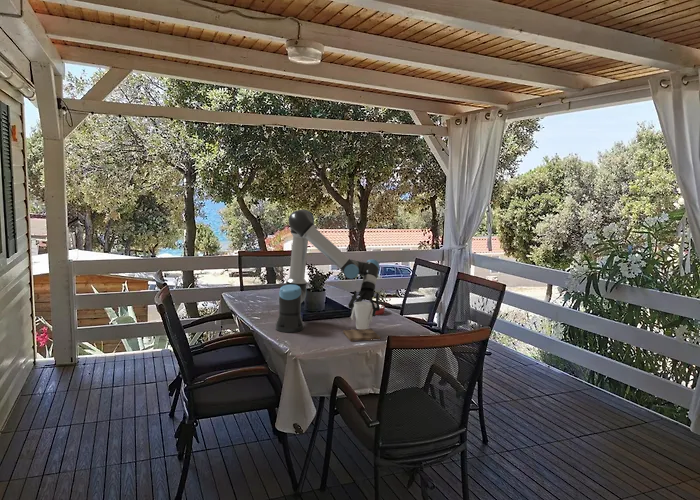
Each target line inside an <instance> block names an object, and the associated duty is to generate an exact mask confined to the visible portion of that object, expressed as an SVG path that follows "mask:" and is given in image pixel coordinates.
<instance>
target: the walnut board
mask: <svg viewBox="0 0 700 500" xmlns="http://www.w3.org/2000/svg"><path fill="white" fill-rule="evenodd" d="M342 334H343V335H344V336H345V337H346V338H347V339H348V340H349V341H350V342H354V341H353V340H368V341H374V340H373V339H380V340H381V336H380V335H379V334H378V333H377V332H376V331H374V330H373V329H372V328H368V329H343V331H342ZM371 339H372V340H371Z"/></svg>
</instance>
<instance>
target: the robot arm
mask: <svg viewBox="0 0 700 500" xmlns="http://www.w3.org/2000/svg"><path fill="white" fill-rule="evenodd" d="M314 223H315V217H314V215H313V214H312V213H311V212H310V211H309V210H307V209H299V210H294V211H293V212H292V213H290V215H289V216H288V225H289V227H290V234H291V235H292V245H291V246H292V247H291V256H290V257H291V258H290V266H289V275H288V276H289V277H288V278H287V279H286V282H285V284H284V285H282V286H281V287H280V288H279V292H278V297H279V298H278V299H279V300H278V304H279V305H278V317H277V320H276V323H275V331H278V332H283V333H298V332H301V331H303V330H304V322H303V319H302V316H301V311H302V310H301V308H302V307H301V305H302V303H303V302H304V301H305V300H306V298H307V296H308V290H307V289H308V288H307V282H308V281H307V280H306V279H305V277H306V276H305V275H306V264H307V256H308V255H307V254H308V245H309V243H310V244H311V245H313V246H314V247H315V248H316V250H318V251H319V252H321V253H322V254H323V255H324V256H325V257H326V258H327V259H328V260H329V261H331V263H333V264H334V266H336V267H337V268H338V269H340V270H341V272H343V274H344V277H346V278H347V279H351V280H352V279H355V278H357V276H363V278H362V280H361V281H362V282H361V286H360V290H359V291H357V290H354V291H353V297H351V299H350V301H349V303H348V309H350V310H349V313H350V320H351V321H352V322H354V317H355V310H354V303H355V302H360V301H362V302H363V301H369V302H370V303H372V307H373V309H372V310H371V315H370V321H369V323H372V322H373V318H374V317H376V315H375V313H376V311H379V310H380V308H379V304H380V301H379V298H380V293H379V292H377V293H375V290H376V285H377V281H378V274H379V270H380V262H379V261H378V260H377V259H373V258H371V259H367V260H366V262H364V261H358V260H355V259H350V258H349V257H348V256H347V255H346V254H345V253H344V252H343V251H342V250H341V249H339V248H338V247H337V246H336V244H333V243H332V241H330V240H329V239H328V238H327V237H326V236H325V235H324V234H322V232H321V231H320V230H318V229H317V228H316V226H315V224H314ZM357 297H358V299H357V300H355V299H356V298H357ZM373 297H374V298H375V302H374V301H373ZM374 304H377V307H376V308H375V305H374Z"/></svg>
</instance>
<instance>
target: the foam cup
mask: <svg viewBox="0 0 700 500" xmlns="http://www.w3.org/2000/svg"><path fill="white" fill-rule="evenodd" d="M354 302H355V301H354ZM353 304H354V310H355V314H354V317H355V319H354V320H355V328H356V329H357V330H361V329H369V326H370V315H371V309H372V303H371V302H370V301H363V300H362V301H360V302H355V303H353Z"/></svg>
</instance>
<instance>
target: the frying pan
mask: <svg viewBox="0 0 700 500" xmlns="http://www.w3.org/2000/svg"><path fill="white" fill-rule="evenodd" d="M353 295H354V294H353ZM353 295H351V298H352V297H353ZM358 298H359V297H358ZM358 298H357V297H356V299H355V301H356V300H357V299H358ZM374 305H375V308H376V307H377V304H376V303H374ZM379 308H380V310H379V311H376V313H375V316H383V315H384V314H385V311H386V310H385V309H386V306H385V305H383V304H380V303H379ZM372 309H373V307H372ZM372 309H371V310H372Z"/></svg>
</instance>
